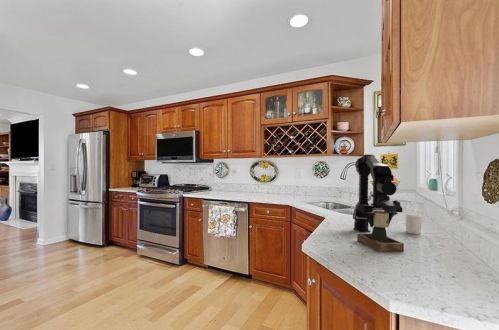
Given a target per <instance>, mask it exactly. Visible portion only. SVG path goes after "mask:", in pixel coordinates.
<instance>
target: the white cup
mask: <svg viewBox="0 0 499 330" xmlns="http://www.w3.org/2000/svg"><path fill="white" fill-rule="evenodd" d="M404 215H405V232H406V233H408V234H412V235H420V234H421V232H422V227H423V226H422V225H423V214H419V213H412V212H406V213H405V214H404Z"/></svg>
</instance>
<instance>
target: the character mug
mask: <svg viewBox="0 0 499 330" xmlns="http://www.w3.org/2000/svg"><path fill="white" fill-rule="evenodd" d="M373 213H375V215H374V217H373V228H372V230H371V231H372V232H371V233H372V237H371V238H372V239H374V240H379V242H380V241H387V237H388V236H387V234H388V233H387V230H386V228H389V226H388V223H389V213H388V212H384V210H373Z"/></svg>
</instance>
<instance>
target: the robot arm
mask: <svg viewBox="0 0 499 330" xmlns="http://www.w3.org/2000/svg"><path fill="white" fill-rule="evenodd" d="M354 165H355V171H356V172H357V174H358V179H359V180H358V202H357V203H356V204H355V208H354V210H353V213H352V219H353V220H354V222H353V223H354V224H353V230H355V231H357V232H358V233H370V232H371V230H369V227H370V228H372V229H373V227H374V226H373V217H374V215H375V213H373V211H384V212H388V213H389V223H388V227H389V226H390V224H391V222H392V220H393V218H394V217H395V216H396V215H398V214H399V213H403V207H402V206H401V201H400V200H397V199H396V200H395V199H394V200H391V199H390V196H393V195H394V194H396V192H397V189H398V188H397V186H396V184H395V183H394V182H393V181H394V178H395V176H394V174H393V172H392V170H391V167H390V165H388V164H384V163H381V162H380V161H379V160H378V159H377V158H376V156H375V155H374V154H366V153H365V154H363V155H362V156H361V157H358V158H357V159H356V161H355V164H354ZM369 176H371V178H372V183H373V184H372V193H371V194H370V197H372V202H371V203H369Z"/></svg>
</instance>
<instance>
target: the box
mask: <svg viewBox="0 0 499 330" xmlns="http://www.w3.org/2000/svg"><path fill="white" fill-rule="evenodd" d="M371 237H372V232H371V233H370V232H369V233H356V240H357V242H358V243H361V244H362V245H364V246H366V247H368V248H370V249H372V250H373V251H376V252H378V253H397V252H398V253H400V252H401V253H402V252H404V251H405V247H404V246H405V244H404V242H402V241H399V240H397V239H395V238H393V237H389V236H387V241H380V242H379V240H374V239H372V238H371Z"/></svg>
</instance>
